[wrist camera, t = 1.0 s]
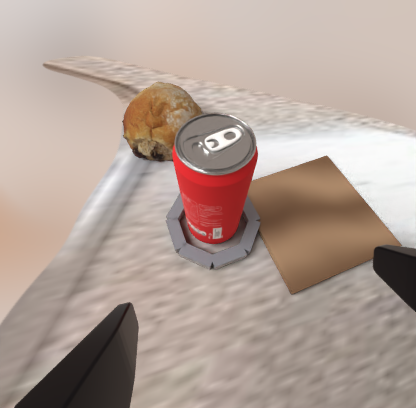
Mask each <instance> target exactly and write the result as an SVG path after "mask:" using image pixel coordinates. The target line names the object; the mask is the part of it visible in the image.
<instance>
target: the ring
mask: <svg viewBox="0 0 416 408" xmlns="http://www.w3.org/2000/svg"><path fill="white" fill-rule="evenodd" d="M184 213H185V210H184V206H183V201H182V197H181V193H180V194H179V196H178V197H177V199H176V201H175V202H174V204H173V206H172V208H171V209H170V211H169V213H168V214H167V216H166V217H167V220H166V223H167V226H168V229H169V232H170V235H171V239H172V242H173V245H174V248H175V251H176V253H177V252H179V253H178V254H179V256H180V257H183V258H185V259H187V260H189V261H192V262H194V263H196V264H198V265H200V266H203V267H205V268H207V269H209V270H210V268H211V266H212V264H213V267H214V270H216V269H218V268H221V267H223V266H226V265H228V264H231V263H233V262H236V261H238V260H241V259H243V258H246V256H247V254H249V253H250V251H251V248H252V245H253V242H254V240H255V237H256V234H257V231H258V229H259V226H260V223H261V222H258V220H260V217H259V215H258V213H257V211H256V210H255V208H254V206H253V204H252V202H251V200H250V199H249V197H248V195H247V197H246V201H245V204H244V208H243V211H242V215H243V217H244V219H245V221H246V223H247V225H246V228H245V230H244V233H243V236H242V238H241V241H240V243H239V244H238V245H236V246H233V247H230V248H228V249H225V250H223V251H220V252H217V253H215V254H211V253H208V252H206V251H204V250H201V249H199V248H197V247H194V246H192V245H190V244H187V243H186V241H185V238H184V235H183V232H182V229H181V226H180V224H179V222H180V220H181V218H182V216H183V215H184ZM246 253H247V254H246Z"/></svg>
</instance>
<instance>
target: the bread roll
mask: <svg viewBox="0 0 416 408" xmlns="http://www.w3.org/2000/svg"><path fill="white" fill-rule="evenodd" d="M199 115H202V112H201V108H200V107H199V106H198V105H197V104H196V103H195V102H194V100H193V99H192V98H191V96H190V95H189V94H188V93H187V92H186V91H185V90H183V89H182V88H181V87H179V86H176V85H173V84H169V83H162V82H156V83H154V84H153V85H152V86H150V87H148V88H146V89H144V90H143V91H141V92H140V93H139V94H138V95H137V96H136V97H135V98H134V99H133V100H132V101H131V102H130V104H129V106H128V108H127V110H126V112H125V115H124V120H123V121H122V122H123V125H124V135H123V137H124V138H125V139H126V140H127V142H128V144H129V145H130V148H131V149H132V150H133V151H132V152H133V153H134V155H135V156H137V157H139V158H147V159H149V160H155V161H161V160H173V156H172V152H173V146H174V142H175V137H176V134H177V132H178V130H179V129H180V127H181V126H182V125H183V124H184V123H185V122H187V121H188V120H190V119H192V118H194V117H196V116H199Z"/></svg>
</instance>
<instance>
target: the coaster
mask: <svg viewBox="0 0 416 408" xmlns="http://www.w3.org/2000/svg"><path fill="white" fill-rule="evenodd" d="M247 195H248V197H249V199H250V200H251V202H252V204H253V206H254V208H255V210H256V211H257V213H258V215H259V217H260V220H258V222H261V223H260V226H259V229H258V232H259V234H260V236H261V238H262V240H263V242H264V244H265V245H266V247H267V249H268V251H269V253H270V255H271V257H272V259H273V261H274V263H275V264H276V266H277V268H278V270H279V272H280V274H281V276H282V278H283V280H284V282H285V283H286V285H287V287H288V289H289V291H290V293H291V294H294V293H296V292H298V291H301V290H303V289H305V288H307V287H310V286H312V285H314V284H316V283H319V282H321V281H323V280H325V279H328V278H330V277H332V276H334V275H337V274H339V273H341V272H343V271H346V270H348V269H350V268H352V267H355V266H357V265H359V264H361V263H364V262H366V261H368V260H370V259H372V258H373V253H374V248H375V247H377V246H381V245H386V244H387V245H394V246H402V245H401V244H400V243H399V242H398V240H397V239H396V238H395V237H394V236H393V234H392V233H391V232H390V231H389V230H388V228H387V227H386V226H385V225H384V223H383V222H382V221H381V220H380V219H379V217H378V216H377V215H376V214H375V213H374V211H373V210H372V209H371V208H370V207H369V205H368V204H367V203H366V202H365V201H364V199H363V198H362V197H361V196H360V195H359V193H358V192H357V191H356V190H355V189H354V187H353V186H352V185H351V184H350V183H349V181H348V180H347V179H346V178H345V176H344V175H343V174H342V173H341V172H340V170H339V169H338V168H337V167H336V166H335V164H334V163H333V162H332V161H331V160H330V158H329V157H328V156H324V157H321V158H318V159H315V160H312V161H309V162H306V163H303V164H301V165H298V166H295V167H292V168H289V169H286V170H283V171H280V172H277V173H274V174H271V175H268V176H265V177H262V178H259V179H256V180H253V181H251V183H250V187H249V190H248V194H247Z"/></svg>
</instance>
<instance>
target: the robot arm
mask: <svg viewBox="0 0 416 408" xmlns="http://www.w3.org/2000/svg"><path fill="white" fill-rule="evenodd" d="M373 268H374V271H375V272H376V273H377V275H378V276H379V277H380V278H381V279H382V280H383V281H384V282H385V283H386V284H387V285H388V286H389V287H390V288H391V289H392V290H393V291H394V292H395V293H396V294H397V295H398V296H399V297H400V298H401V299H402V300H403V301H404V302H405V303H407V304H408V305H409V306H410V307H411V308H412V309H413V310H414V311H415V312H416V249H414V248H407V247H401V246H394V245H387V244H386V245H381V246H377V247H375V248H374V253H373ZM137 342H138V321H137V317H136V314H135V311H134V307H133V305H132V303H130V302H129V303H124V304H120V305H118V306H117V307H116V308H115V309H114V310H113V311H112V312H111V313H110V314H109V315H108V316H107V317H106V318H105V319H104V320H102V321H101V322H100V323H99V324H98V325H97V326H96V327H95V328H94V329H93V330H92V331H91V332H90V333H89V334H88V335H87V336H86V337H85V338H84V339H83V340H82V341H81V342H80V343H79V344H78V345H77V346H76V347H75V348H74V349H73V350H72V351H71V352H70V353H69V354H68V355H67V356H66V357H65V358H64V359H63V360H62V361H61V362H59V363H58V364H57V365H56V366H55V367H54V368H53V369H52V370H51V371H50V372H49V373H48V374H47V375H46V376H45V377H44V378H43V379H42V380H41V381H40V382H39V383H38V384H37V385H36V386H35V387H34V388H33V389H32V390H31V391H30V392H29V393H28V394H27V395H26V396H25V397H24V398H23V399H22V400H21V401H20V402H18V403H17V404H16V405H15V407H14V408H130V403H131V397H132V391H133V385H134V379H135V368H136V355H137Z"/></svg>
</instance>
